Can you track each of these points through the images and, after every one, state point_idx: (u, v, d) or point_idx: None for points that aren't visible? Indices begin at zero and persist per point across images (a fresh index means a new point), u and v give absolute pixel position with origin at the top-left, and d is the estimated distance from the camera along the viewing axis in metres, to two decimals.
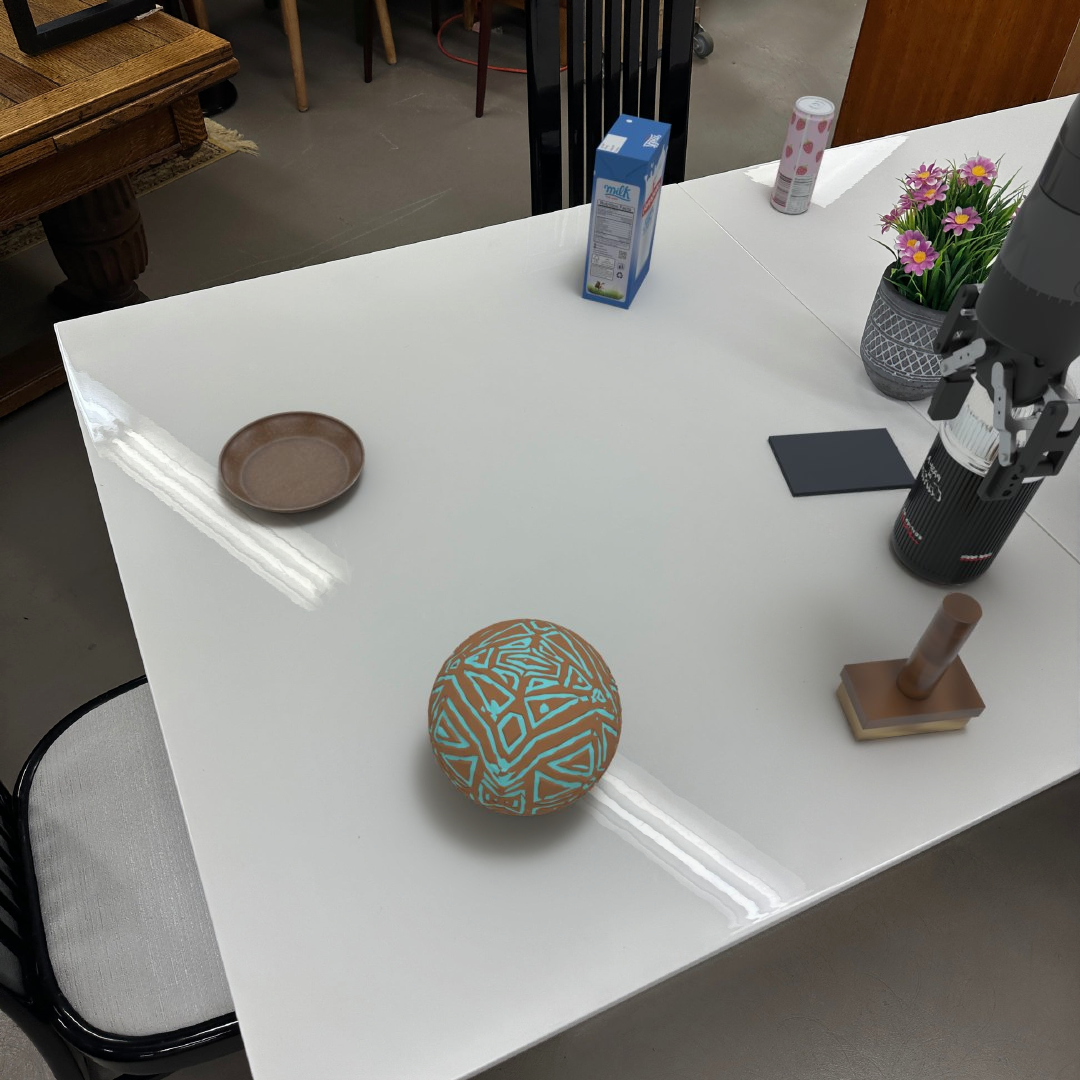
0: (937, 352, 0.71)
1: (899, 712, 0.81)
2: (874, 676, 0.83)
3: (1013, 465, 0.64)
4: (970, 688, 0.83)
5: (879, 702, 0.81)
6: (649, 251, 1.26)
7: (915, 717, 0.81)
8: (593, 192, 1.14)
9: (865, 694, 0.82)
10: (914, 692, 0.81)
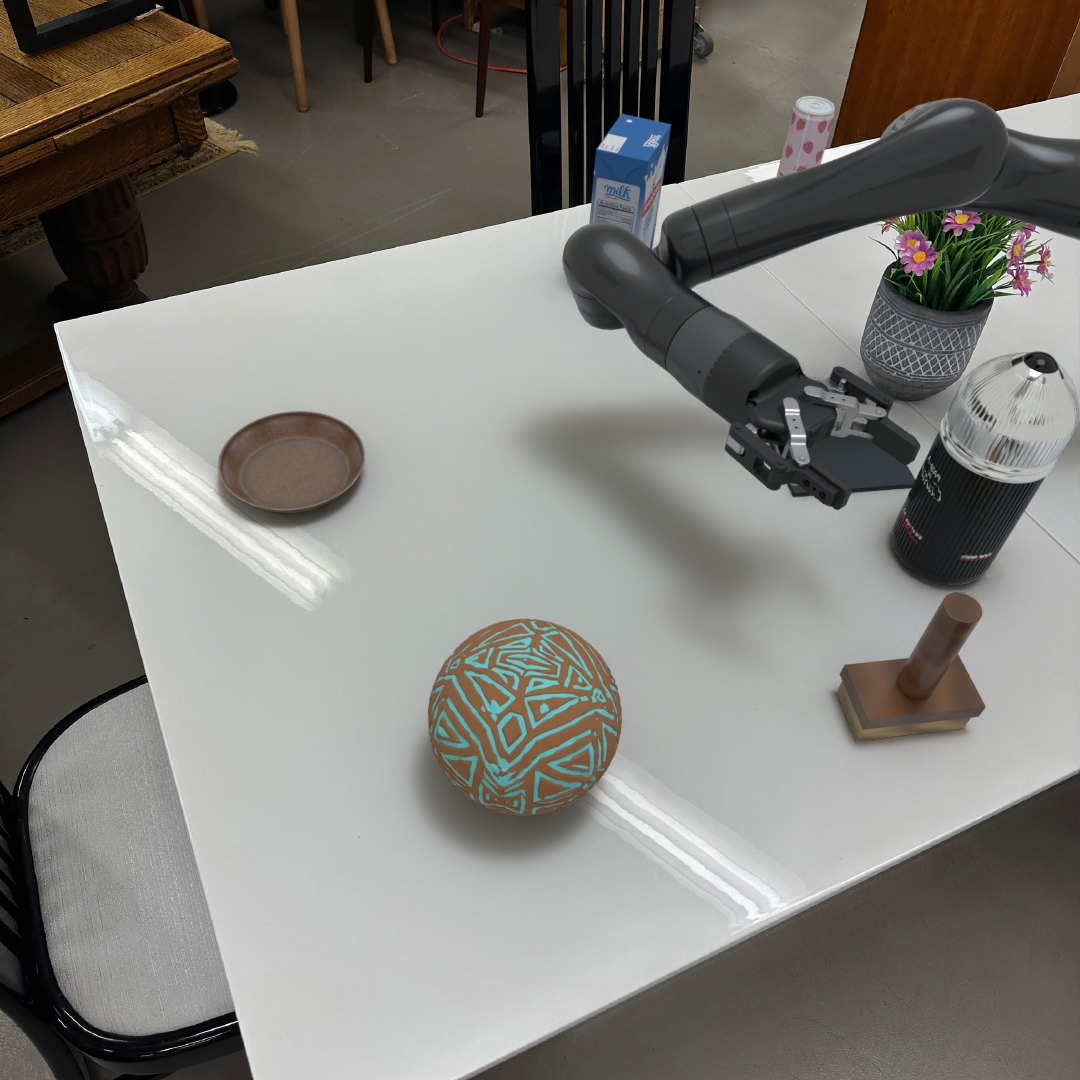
0: None
1: (899, 712, 0.81)
2: (874, 676, 0.83)
3: (793, 481, 0.75)
4: (970, 688, 0.83)
5: (879, 702, 0.81)
6: None
7: (915, 717, 0.81)
8: (593, 192, 1.14)
9: (865, 694, 0.82)
10: (914, 692, 0.81)
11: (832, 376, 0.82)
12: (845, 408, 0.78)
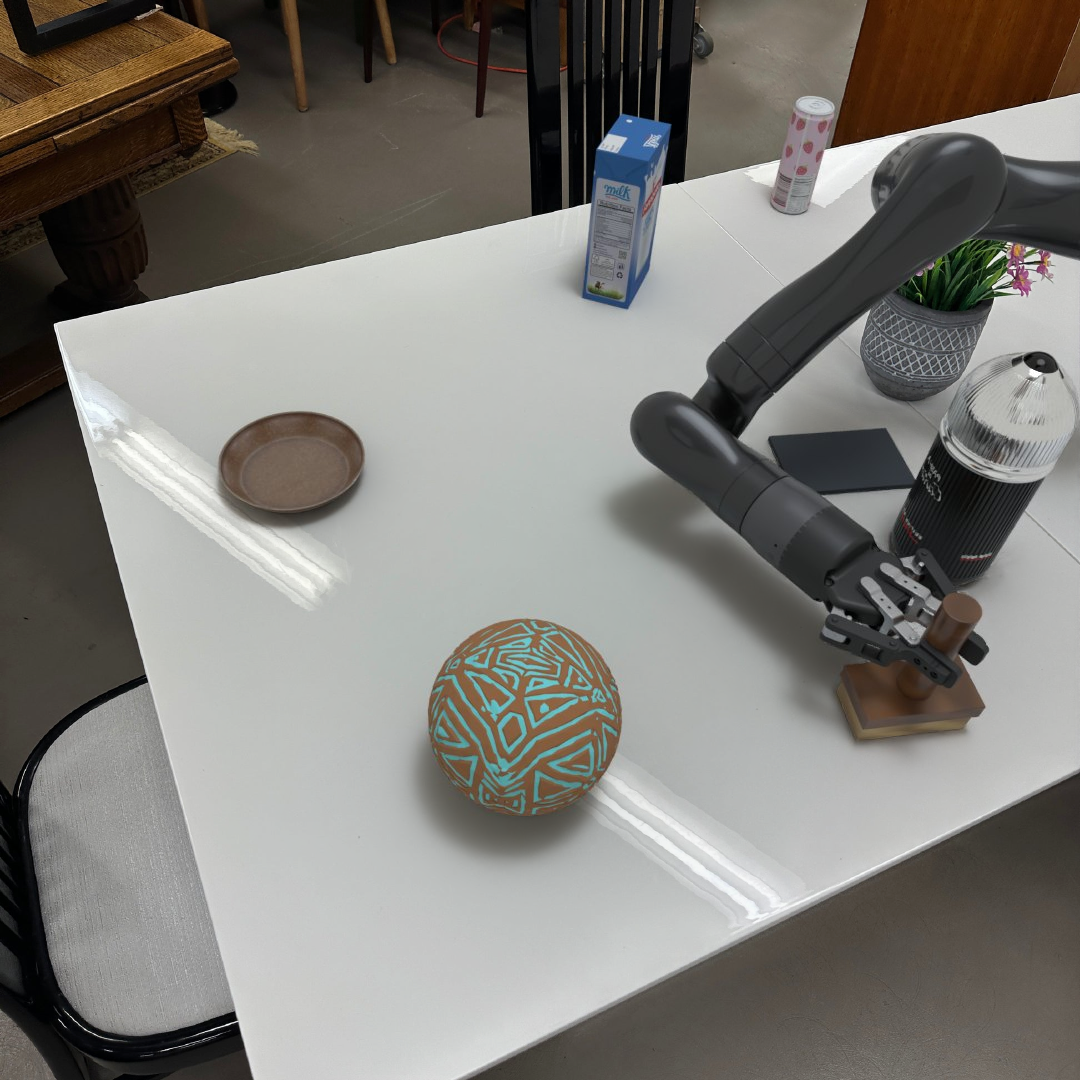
0: None
1: (899, 712, 0.81)
2: (874, 676, 0.83)
3: None
4: (970, 688, 0.83)
5: (879, 702, 0.81)
6: (649, 251, 1.26)
7: (915, 717, 0.81)
8: (593, 192, 1.14)
9: (865, 694, 0.82)
10: (914, 692, 0.81)
11: (915, 556, 0.83)
12: (913, 596, 0.80)
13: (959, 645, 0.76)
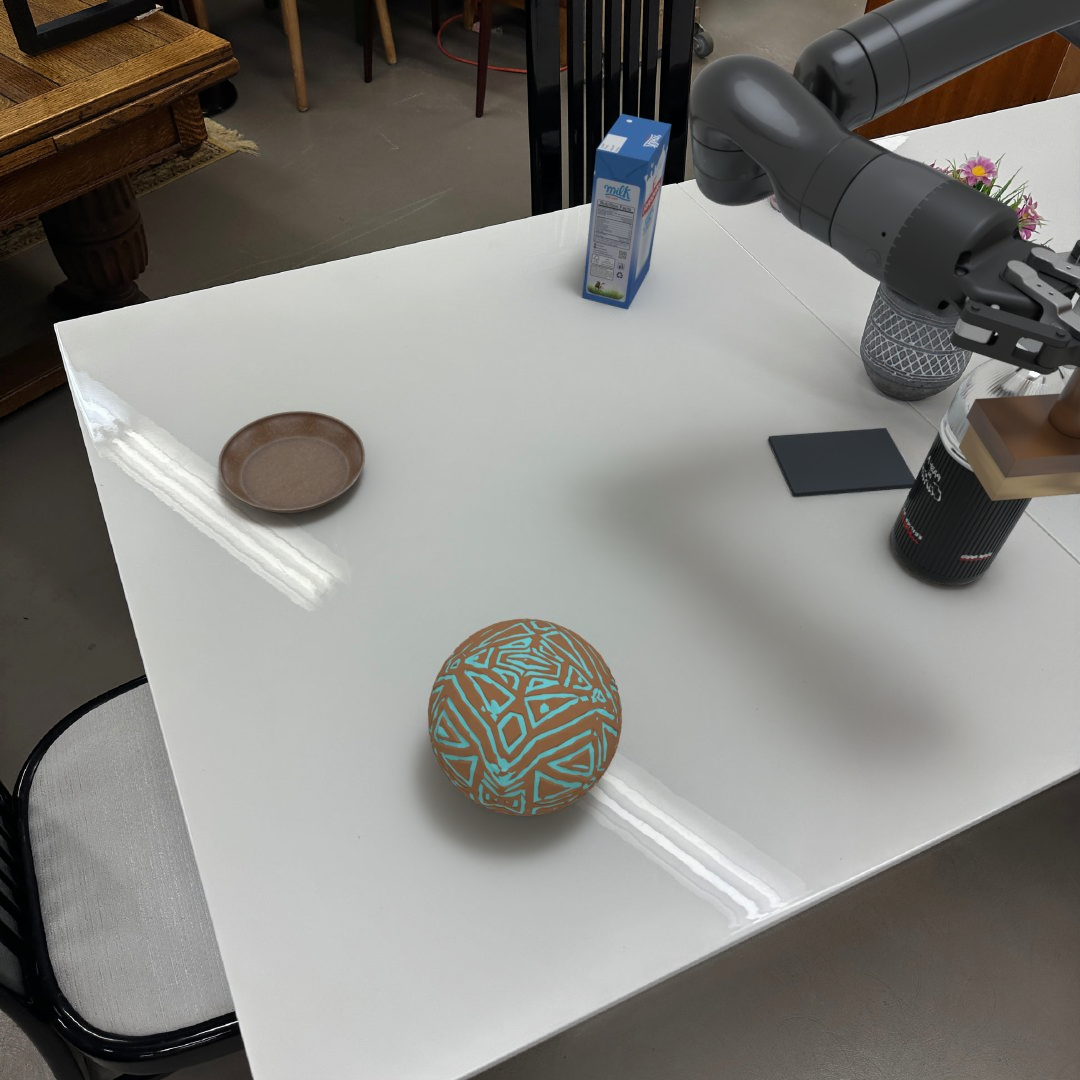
0: None
1: (1057, 451, 0.59)
2: (1017, 412, 0.61)
3: (1071, 362, 0.56)
4: None
5: (1029, 440, 0.59)
6: (649, 251, 1.26)
7: (1078, 459, 0.59)
8: (593, 192, 1.14)
9: (1008, 431, 0.60)
10: (1077, 425, 0.59)
11: (1073, 250, 0.61)
12: None
13: None
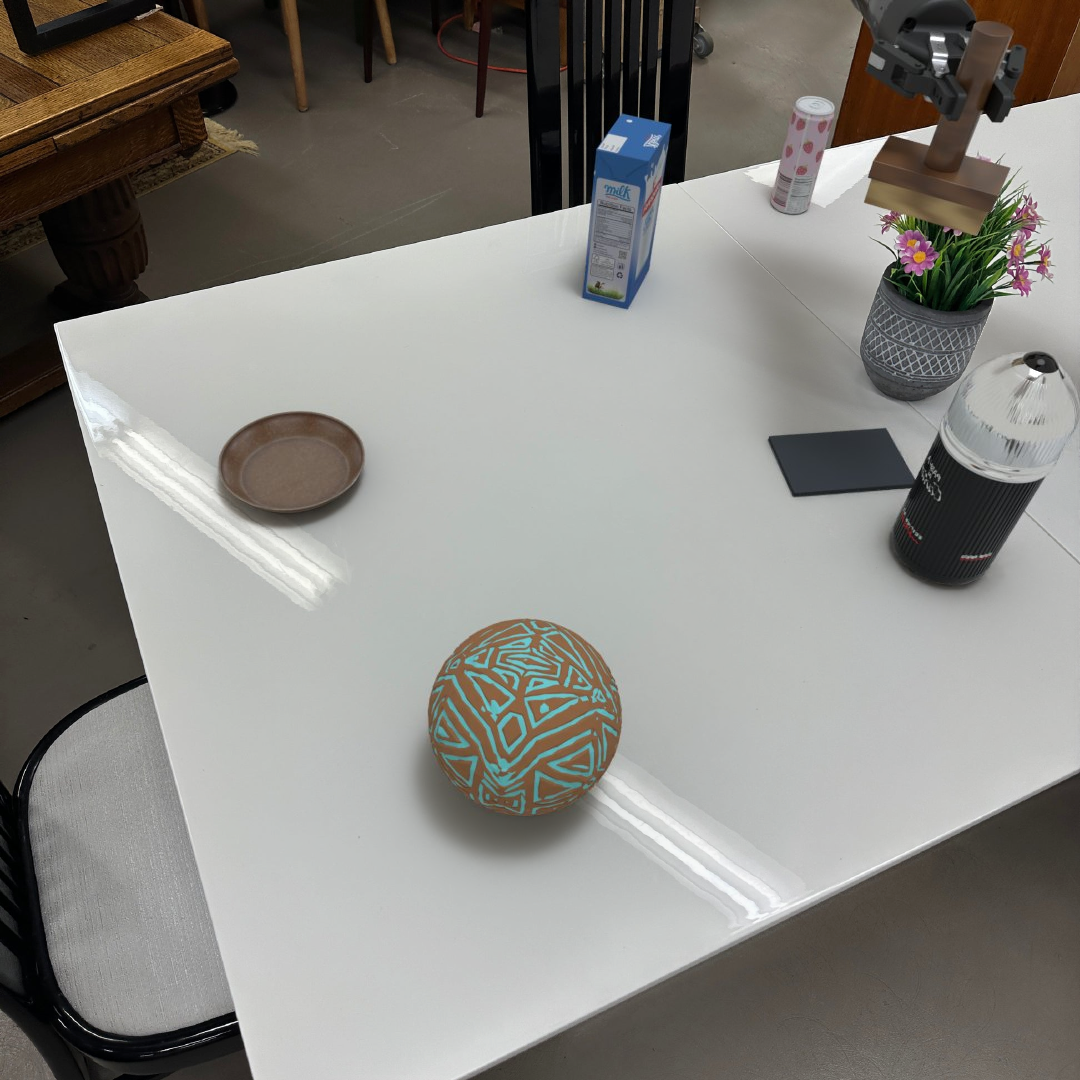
0: None
1: (908, 167, 0.82)
2: (909, 148, 0.84)
3: (927, 94, 0.79)
4: (996, 184, 0.81)
5: (896, 158, 0.83)
6: (649, 251, 1.26)
7: (921, 178, 0.81)
8: (593, 192, 1.14)
9: (888, 151, 0.84)
10: (932, 156, 0.81)
11: None
12: None
13: (978, 76, 0.76)
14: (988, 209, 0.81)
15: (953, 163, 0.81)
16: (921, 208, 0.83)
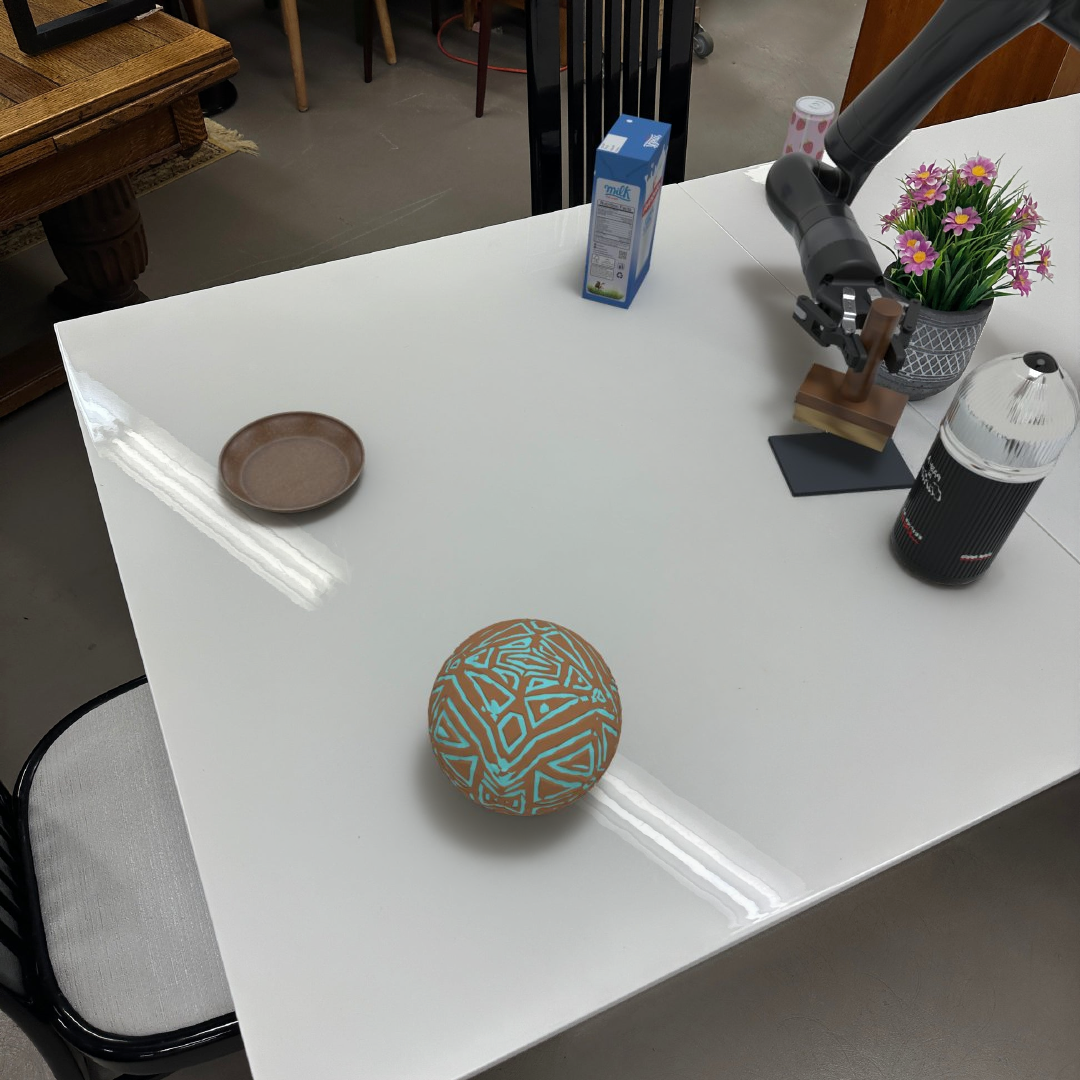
0: None
1: (826, 398, 1.01)
2: (829, 376, 1.03)
3: (839, 345, 0.98)
4: (895, 414, 1.00)
5: (816, 388, 1.02)
6: (649, 251, 1.26)
7: (836, 407, 1.01)
8: (593, 192, 1.14)
9: (811, 380, 1.03)
10: (845, 390, 1.01)
11: (909, 303, 1.01)
12: None
13: (876, 340, 0.95)
14: (889, 435, 1.00)
15: (861, 396, 1.00)
16: (837, 427, 1.03)
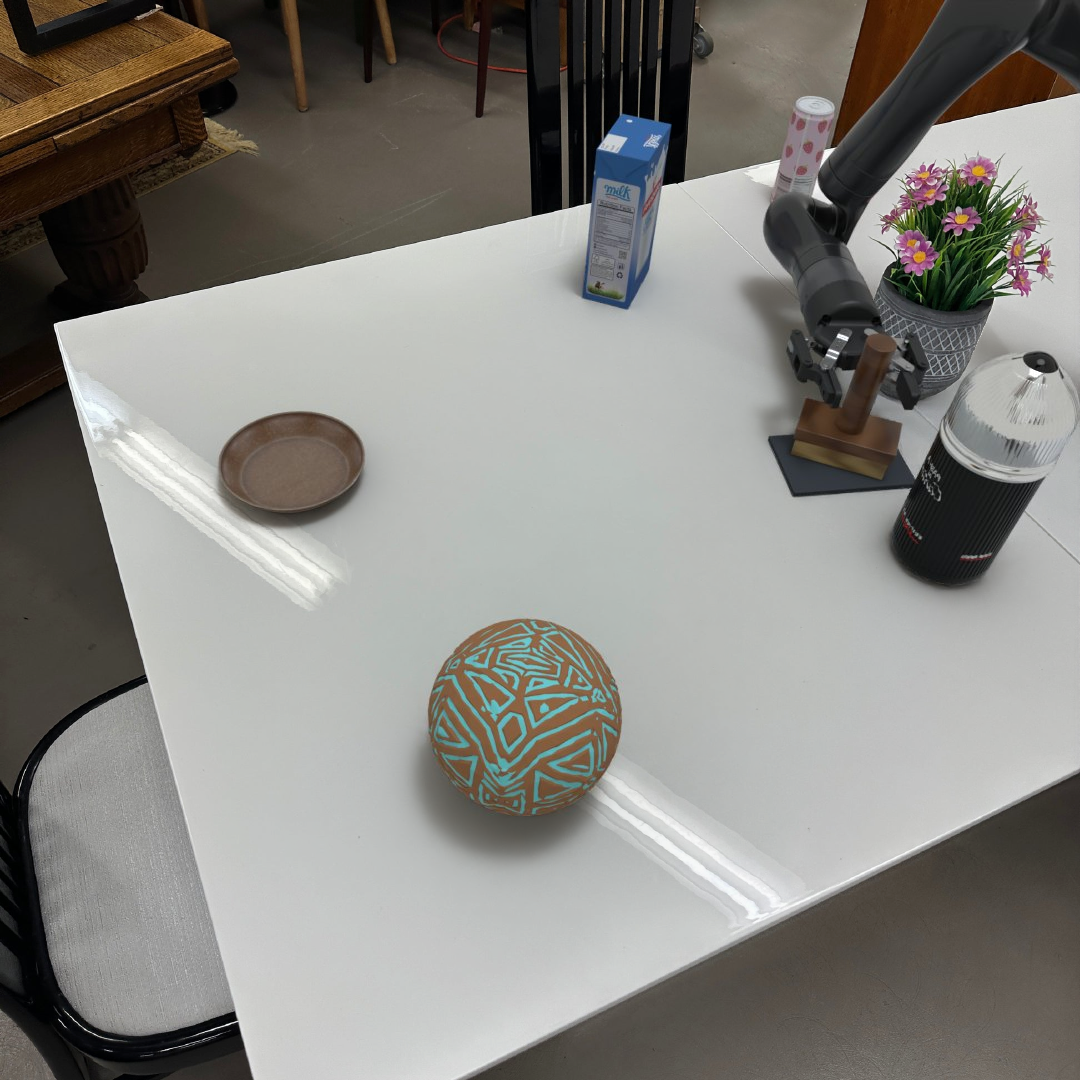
0: None
1: (824, 433, 1.03)
2: (823, 410, 1.05)
3: (816, 381, 1.00)
4: (893, 443, 1.02)
5: (813, 423, 1.04)
6: (649, 251, 1.26)
7: (835, 441, 1.02)
8: (593, 192, 1.14)
9: (807, 416, 1.04)
10: (842, 423, 1.02)
11: None
12: None
13: (873, 376, 0.97)
14: (889, 464, 1.02)
15: (859, 428, 1.02)
16: (836, 460, 1.04)
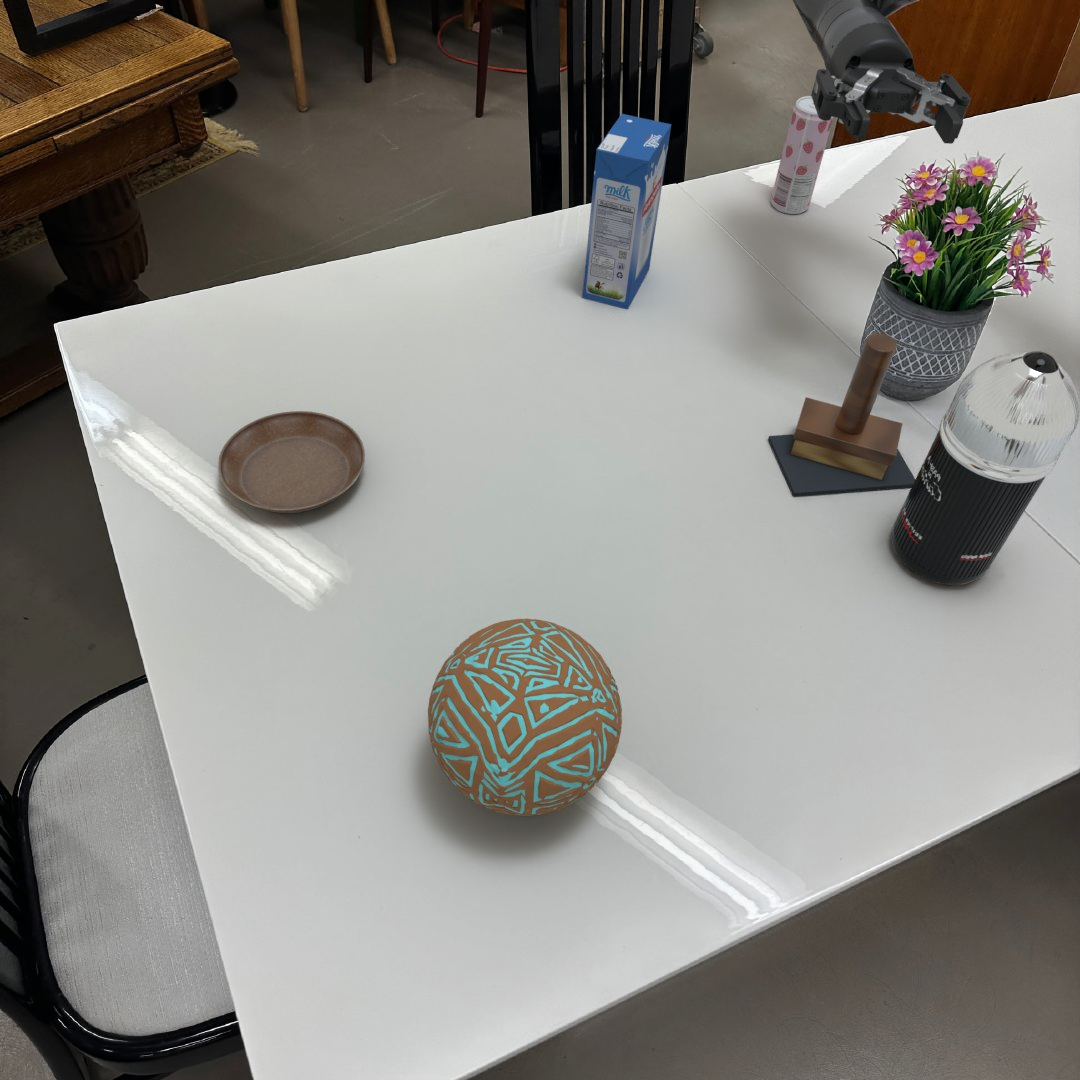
0: None
1: (824, 433, 1.03)
2: (823, 410, 1.05)
3: (840, 117, 0.93)
4: (893, 443, 1.02)
5: (813, 423, 1.04)
6: (649, 251, 1.26)
7: (835, 441, 1.02)
8: (593, 192, 1.14)
9: (807, 416, 1.04)
10: (842, 423, 1.02)
11: None
12: (921, 89, 0.93)
13: (873, 376, 0.97)
14: (889, 464, 1.02)
15: (859, 428, 1.02)
16: (836, 460, 1.04)
